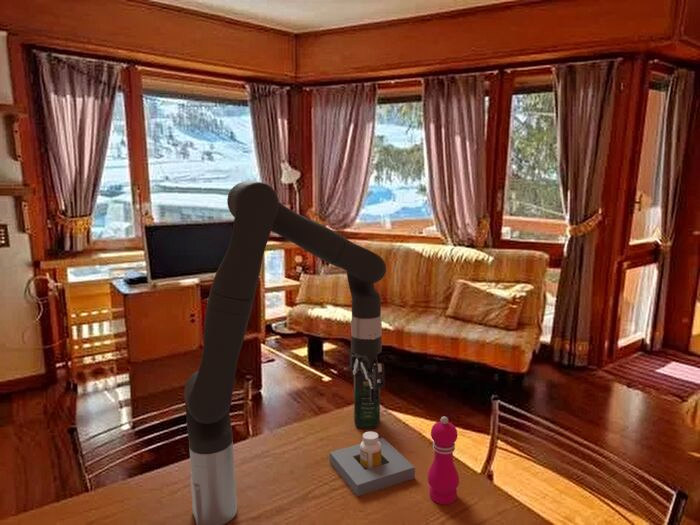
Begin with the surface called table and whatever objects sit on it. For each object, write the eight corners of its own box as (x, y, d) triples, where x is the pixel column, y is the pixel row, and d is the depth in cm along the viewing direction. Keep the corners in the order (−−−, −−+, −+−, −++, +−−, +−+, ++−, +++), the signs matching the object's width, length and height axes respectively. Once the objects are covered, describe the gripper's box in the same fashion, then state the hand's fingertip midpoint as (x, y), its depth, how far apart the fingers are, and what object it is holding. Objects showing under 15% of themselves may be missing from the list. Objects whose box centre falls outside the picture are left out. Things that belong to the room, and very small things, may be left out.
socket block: (357, 496, 119) (357, 485, 119) (329, 462, 134) (329, 452, 133) (414, 478, 126) (414, 467, 126) (382, 447, 140) (382, 437, 140)
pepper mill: (435, 508, 115) (436, 426, 111) (422, 489, 122) (423, 411, 118) (464, 502, 117) (466, 421, 113) (450, 484, 123) (451, 407, 120)
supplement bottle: (381, 464, 132) (381, 430, 131) (380, 476, 127) (380, 441, 125) (361, 463, 133) (360, 429, 131) (359, 475, 128) (359, 440, 126)
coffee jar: (380, 429, 150) (380, 370, 147) (354, 430, 150) (353, 370, 147) (379, 414, 160) (379, 358, 156) (354, 414, 160) (353, 358, 157)
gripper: (340, 327, 129) (341, 387, 131) (366, 343, 116) (366, 410, 119) (366, 323, 132) (366, 382, 135) (394, 339, 119) (394, 403, 122)
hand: (366, 395), depth 127 cm, fingers open, 8 cm apart
